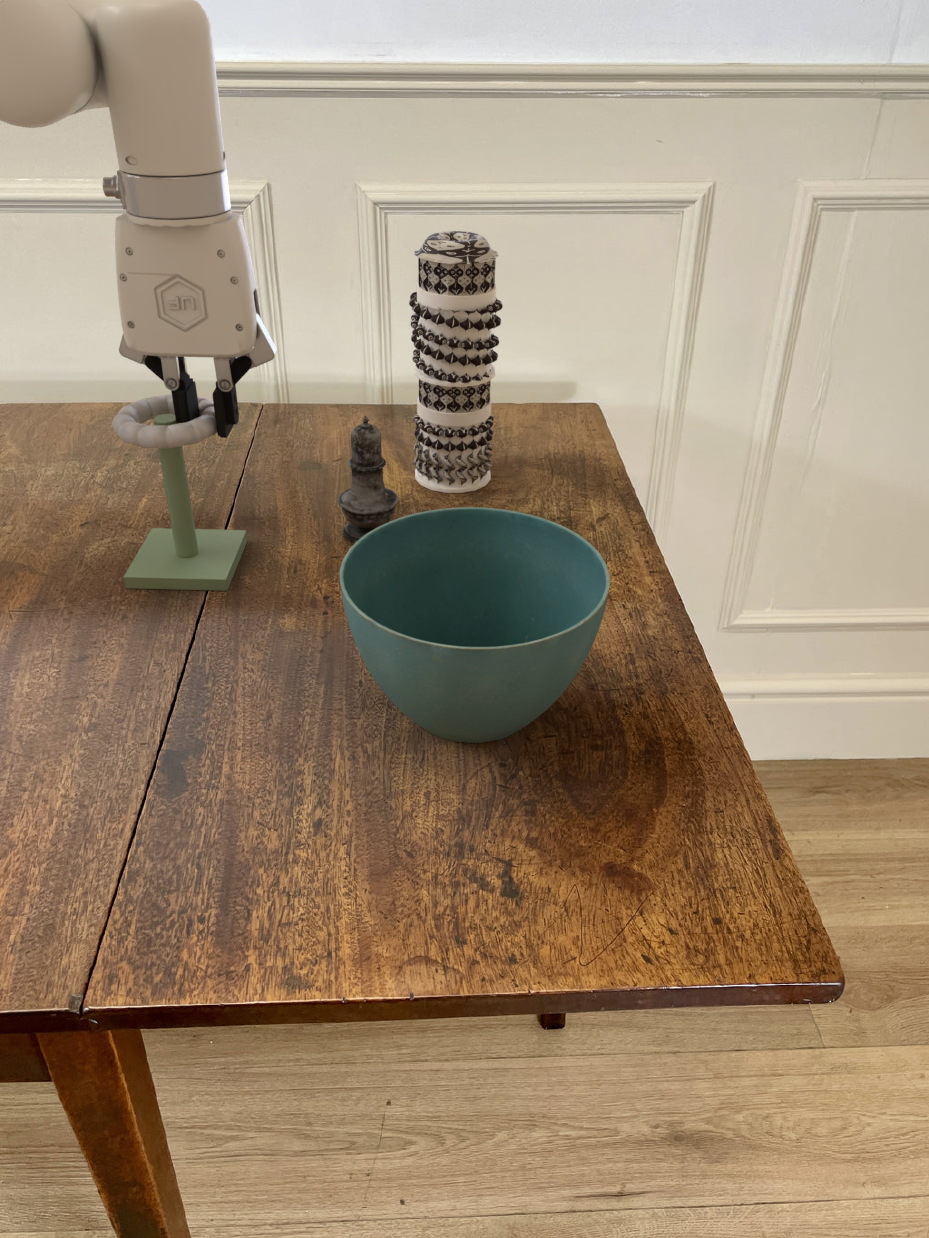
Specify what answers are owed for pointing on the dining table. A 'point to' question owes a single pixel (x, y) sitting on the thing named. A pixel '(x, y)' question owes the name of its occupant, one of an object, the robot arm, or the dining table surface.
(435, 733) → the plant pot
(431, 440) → the decorative candle
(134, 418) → the ring
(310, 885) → the dining table surface
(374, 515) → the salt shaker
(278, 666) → the dining table surface
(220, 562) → the rack
